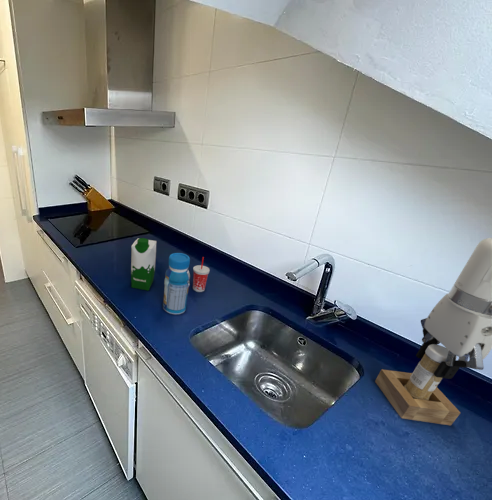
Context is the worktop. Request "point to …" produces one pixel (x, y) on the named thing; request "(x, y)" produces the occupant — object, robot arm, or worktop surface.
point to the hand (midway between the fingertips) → (432, 366)
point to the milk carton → (143, 263)
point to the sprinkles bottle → (426, 373)
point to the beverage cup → (200, 277)
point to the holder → (415, 400)
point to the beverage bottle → (176, 283)
